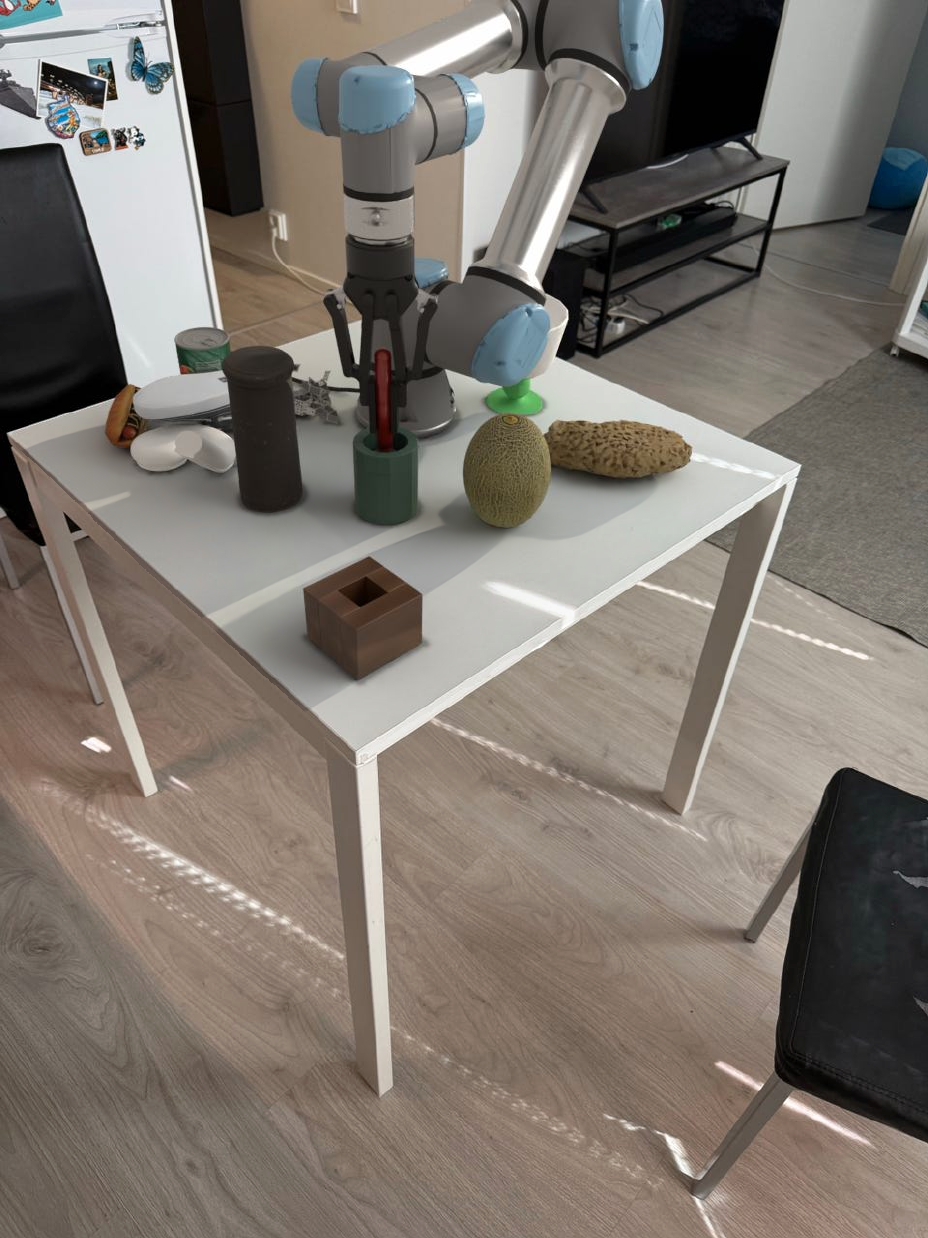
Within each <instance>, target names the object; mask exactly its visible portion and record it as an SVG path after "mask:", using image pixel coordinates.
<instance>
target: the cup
mask: <svg viewBox="0 0 928 1238" xmlns="http://www.w3.org/2000/svg"><path fill="white" fill-rule="evenodd" d="M545 295H546V298H547V300H546V303H545V305H544V308H545V309H546V310H547V312H548V314H549V317H550V331H549V332H548V334H547V335H548V336H549V338H548V342H547V345H546V348H545V350H544V352H543V354H542V356H541V358H540V360H539V362H538V363H537V365H536V366H535V368H534V369H533V370H532V372H531V373H530V374H529V375H528V376H527V377H526V378H525V379H523V380H521V381H520V382H519V383H517V384H515V385H513V386H508V387H502V386H501V387H498V388H496V389H494V390H492V391H491V392H490V393H489V394H488V395H487V397H486V404H487V407H488V408H489V409H490V410H491V411H493V412H496V413H498V414H502V413H516V414H520V415H535V414H536V413H539V412H540V411H541V409H542V408H543V399H542V398H541V397H540V395H539V394H538V393H537V392H535V391H533V390H531V379H535V378H537V377H539V376H541V375H543V374H545V373H546V372H547V371H548V369H549V368H550V367H551V366H552V364H553V363H554V362H555V361H554V360H555V358H556V355H557V352H558V349H559V346H560V343H561V341H562V338H563V335H564V332H565V329H566V327H567V325H568V321H569V310H568V308H567V307H566V306H565V305H564V304H563V302H561V300H559V299H557V298H555V297H553V296H552V295H550V294H548V293H545Z"/></svg>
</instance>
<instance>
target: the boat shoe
mask: <svg viewBox="0 0 928 1238" xmlns="http://www.w3.org/2000/svg"><path fill="white" fill-rule="evenodd" d="M133 404H134V408H135V411H136V413H137V414H138V415H139V416H140V417H142V418H143V419H146V420H149V421H151V422H153V423H156V424H162V423H164V424H165V423H179V422H182V423H183V422H185V423H186V422H188V423H189V422H191V423H194V422H195V423H197V424H199V425H205V426H209V427H213V428H215V429H218V430H220V431H222V432H228V431H230V430H233V426H232V418H231V408H230V399H229V392H228V384H227V378H226V376H225V375H224V373H223V371H222V370H221V371H215V372H209V373H199V374H184V375H180V374H177V375H169V376H166V377H163V378H162V377H161V378H159V379H156V380H154V381H152V382H150V383H149V384H147V385H145V386H143V387H141V389H140V390H139V391H138V392H137V393H136V394H135V395H134V397H133Z"/></svg>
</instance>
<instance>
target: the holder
mask: <svg viewBox="0 0 928 1238" xmlns="http://www.w3.org/2000/svg"><path fill="white" fill-rule="evenodd" d="M302 592H303V602H304V610H305V611H304V615H305V623H306V634H307V639H308V640H310V641H311V642H312V643H313V644H315V646H316V647H318V648H319V649H321V650H322V651H323V652H324V653H325V654H327V655H328V656H329V657H330V658H331V659H332V660H334V661H335V662H336V663H337V664H339V666H341V667H342V668H343V669H344V670H345V671H347V672H348V673H349V674H350V675H351V676H353V678H355V679H356V680H357V681H359V680H361V679H363V678H364V677H367V676H368V675H369V674H371V673H374V672H375V671H377V670H378V669H380V668H382V667H384V666H385V665H386V664H389V663H391V662H393V661H394V660H395V659H397V658H399V657H400V656H402V655H404V654H406V653H408V652H409V651H411V650H413V649H414V648H416V647H418V646H419V645H421V644H423V602H424V601H423V600H424V599H423V593H422V592H420V591H419V590H418V589H416V588H415V587H414V586H413V585H411V584H409V583H408V582H406V581H405V580H403V579H402V578H400V577H399V576H397V574H395V573H394V572H392V571H391V570H390V569H388V568H387V567H385V566H384V565H383V564H382V563H380V562H378V561H377V560H376V559H374V558H373V557H371V556H370V555H369V556H366V557H364V558H361V559H360V560H358V561H356V562H354V563H352V564H350V565H348V566H346V567H344V568H342V569H340V570H338V571H336V572H333V573H331V574H330V575H328V576H326V577H323V578H321V579H319V580H317V581H315V582H313V583H312V584H309V585H307V586H305V587H303V588H302Z"/></svg>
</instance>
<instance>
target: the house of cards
mask: <svg viewBox="0 0 928 1238" xmlns="http://www.w3.org/2000/svg"><path fill="white" fill-rule="evenodd" d="M300 367H301V363H294V370H293V372H292V373H298V372H299V369H300ZM330 374H331V370H324V373H323V376H322V378H320V380H314V379H313V378H312V377H310V376H308V380H307V381H308V383H306V382H305V381H306V380H304V379H301V380H302V384H300V387H301V388H299V389H295V390H294V389H293V398H294V408H295V416H296V415H298V416H301V417H303V416H306V415H310V416H313V417H316V416H318V415H320V416H322V417H323V418H324V419H326V421H327V422H330V423H333V424H336V425H338V424H339V419H340V416H339V414H338V411H337V410H336V409H334V408H333V407H332V405H333V402H332V399H331V397H330V391H329V389H328V387H327V386H328V382H327V381H328V379H329V377H330Z"/></svg>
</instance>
